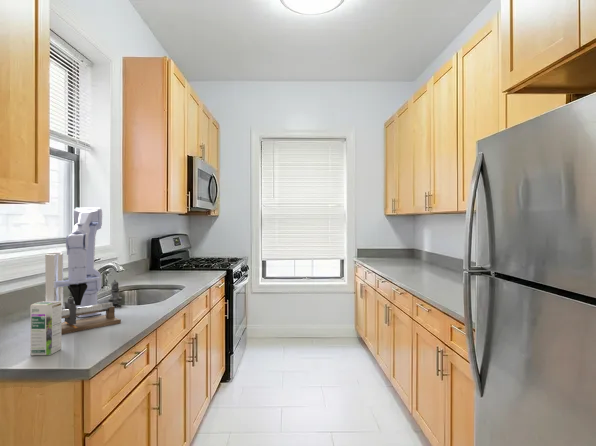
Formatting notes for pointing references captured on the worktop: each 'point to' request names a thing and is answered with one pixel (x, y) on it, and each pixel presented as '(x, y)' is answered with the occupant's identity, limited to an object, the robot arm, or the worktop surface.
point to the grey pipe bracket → (71, 311)
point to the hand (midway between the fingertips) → (77, 305)
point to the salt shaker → (115, 294)
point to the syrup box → (45, 328)
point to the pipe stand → (90, 322)
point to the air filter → (54, 276)
